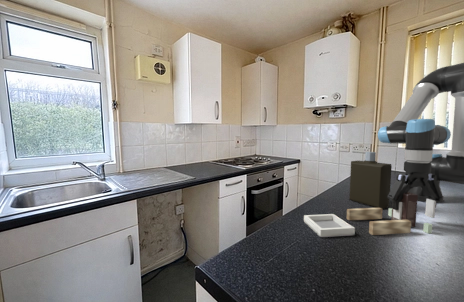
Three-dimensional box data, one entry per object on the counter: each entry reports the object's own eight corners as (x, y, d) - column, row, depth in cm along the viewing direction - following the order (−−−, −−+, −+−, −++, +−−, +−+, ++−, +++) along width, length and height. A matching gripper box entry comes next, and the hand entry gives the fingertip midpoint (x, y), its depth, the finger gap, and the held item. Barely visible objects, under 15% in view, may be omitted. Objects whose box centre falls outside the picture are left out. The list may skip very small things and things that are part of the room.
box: (416, 227, 74) (418, 194, 73) (404, 227, 73) (407, 194, 72) (401, 220, 80) (403, 189, 79) (390, 220, 79) (392, 190, 78)
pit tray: (333, 220, 80) (333, 213, 80) (354, 235, 68) (354, 227, 68) (303, 221, 79) (304, 215, 78) (320, 237, 67) (320, 229, 67)
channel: (378, 217, 83) (379, 207, 82) (410, 232, 69) (411, 221, 69) (346, 218, 81) (346, 209, 81) (372, 235, 68) (373, 223, 68)
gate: (391, 215, 84) (391, 208, 84) (431, 233, 69) (432, 224, 69) (388, 215, 84) (388, 208, 84) (427, 233, 69) (428, 224, 69)
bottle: (381, 210, 90) (385, 153, 88) (346, 200, 104) (348, 151, 102) (391, 207, 93) (394, 153, 91) (356, 197, 108) (358, 150, 105)
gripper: (436, 159, 80) (432, 212, 82) (377, 160, 77) (374, 214, 79) (459, 162, 72) (454, 220, 74) (395, 163, 70) (391, 223, 72)
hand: (413, 217), depth 77 cm, fingers open, 13 cm apart
